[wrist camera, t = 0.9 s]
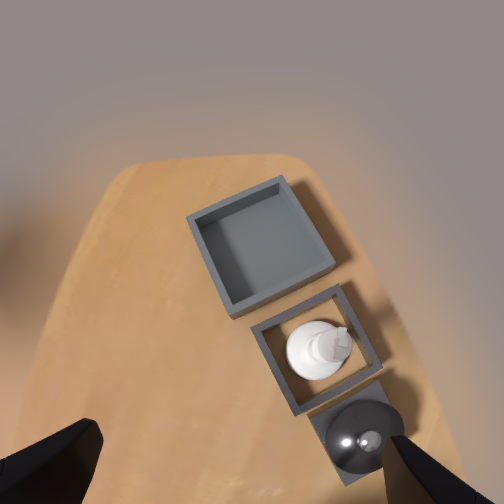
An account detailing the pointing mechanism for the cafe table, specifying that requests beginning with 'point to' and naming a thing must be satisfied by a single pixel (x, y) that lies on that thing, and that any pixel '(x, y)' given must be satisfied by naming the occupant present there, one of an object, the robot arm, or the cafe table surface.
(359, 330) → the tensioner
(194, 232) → the tray
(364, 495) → the cafe table surface
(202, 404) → the cafe table surface
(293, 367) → the chess piece
